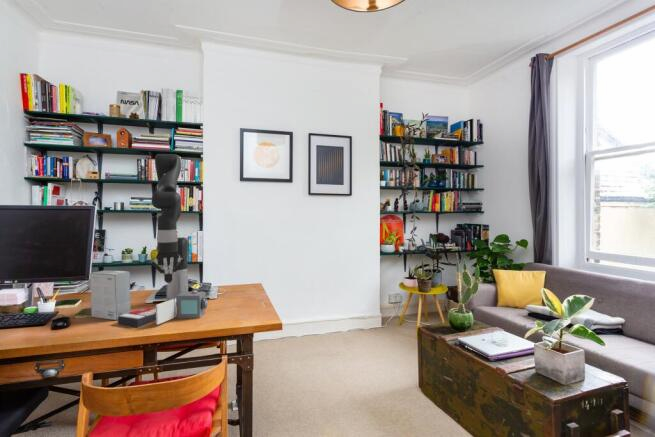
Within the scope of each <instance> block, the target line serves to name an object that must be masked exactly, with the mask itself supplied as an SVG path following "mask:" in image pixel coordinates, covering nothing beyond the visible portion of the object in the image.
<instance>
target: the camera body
mask: <svg viewBox="0 0 655 437" xmlns="http://www.w3.org/2000/svg"><path fill="white" fill-rule="evenodd" d="M176 297H177V304H176V298H175V299H174V318H176V319H201V318H202V317H203V316H204V315H205V314H206V309H207V307H208V304H209V302H208V298H206V292H205V291H198V290H195V289H194V290H192V291H188V292H182V293H180V294H179V295H177V296H176Z"/></svg>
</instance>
